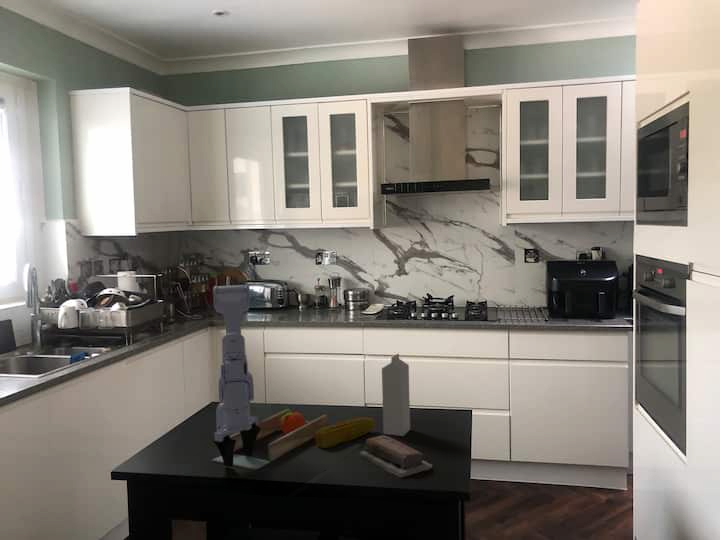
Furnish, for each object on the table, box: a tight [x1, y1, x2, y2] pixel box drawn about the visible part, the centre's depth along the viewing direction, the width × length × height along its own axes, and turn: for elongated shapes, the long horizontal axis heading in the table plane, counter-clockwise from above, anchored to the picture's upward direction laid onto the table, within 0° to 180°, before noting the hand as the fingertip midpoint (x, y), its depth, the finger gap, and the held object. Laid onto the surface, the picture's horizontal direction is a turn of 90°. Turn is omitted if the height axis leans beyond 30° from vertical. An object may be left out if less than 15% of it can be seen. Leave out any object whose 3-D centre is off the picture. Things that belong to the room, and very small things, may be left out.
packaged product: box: [359, 434, 433, 478], centre depth 161 cm, size 18×5×10 cm
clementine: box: [278, 411, 306, 436], centre depth 181 cm, size 8×7×7 cm
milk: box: [381, 353, 411, 437], centre depth 182 cm, size 6×6×22 cm
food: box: [314, 416, 376, 449], centre depth 177 cm, size 21×6×6 cm, turn 138°
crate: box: [230, 408, 329, 462], centre depth 176 cm, size 14×26×5 cm, turn 151°
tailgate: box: [210, 453, 272, 472], centre depth 162 cm, size 14×1×6 cm
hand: (238, 460), depth 161 cm, fingers open, 7 cm apart
